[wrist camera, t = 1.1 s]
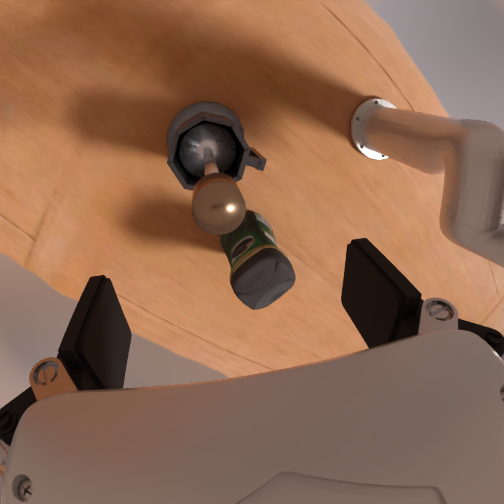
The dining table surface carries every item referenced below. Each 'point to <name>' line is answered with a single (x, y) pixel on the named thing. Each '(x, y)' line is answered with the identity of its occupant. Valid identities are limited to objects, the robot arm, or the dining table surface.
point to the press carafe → (210, 115)
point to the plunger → (213, 179)
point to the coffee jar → (257, 263)
